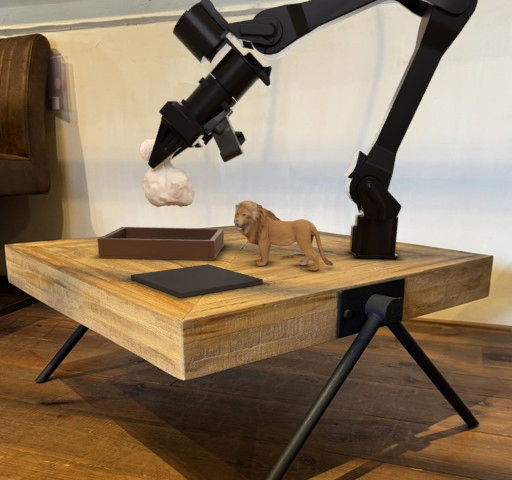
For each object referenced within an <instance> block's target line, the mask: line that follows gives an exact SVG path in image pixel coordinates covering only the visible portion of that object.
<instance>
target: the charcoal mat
mask: <svg viewBox="0 0 512 480" xmlns="http://www.w3.org/2000/svg"><path fill="white" fill-rule="evenodd" d="M130 280H132V281H135V282H137V283H140V284H143V285H145V286H148V287H151V288H153V289H155V290H159V291H161V292H164V293H165V294H168V295H172V296H175V297H176V298H179V299H184V298H190V297H196V296H201V295H202V296H203V295H207V294H213V293H218V292H219V293H220V292H224V291H225V292H226V291H230V290H236V289H242V288H248V287H252V286H258V285H263V284H264V279H263V278H260V277H256V276H253V275H249V274H245V273H243V272H238V271H235V270H231V269H227V268H224V267H220V266H216V265H214V264H213V265H212V264H210V263H206V264H199V265H193V266H184V267H178V268H171V269H163V270H156V271H155V270H154V271H149V272H141V273H135V274H130Z"/></svg>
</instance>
